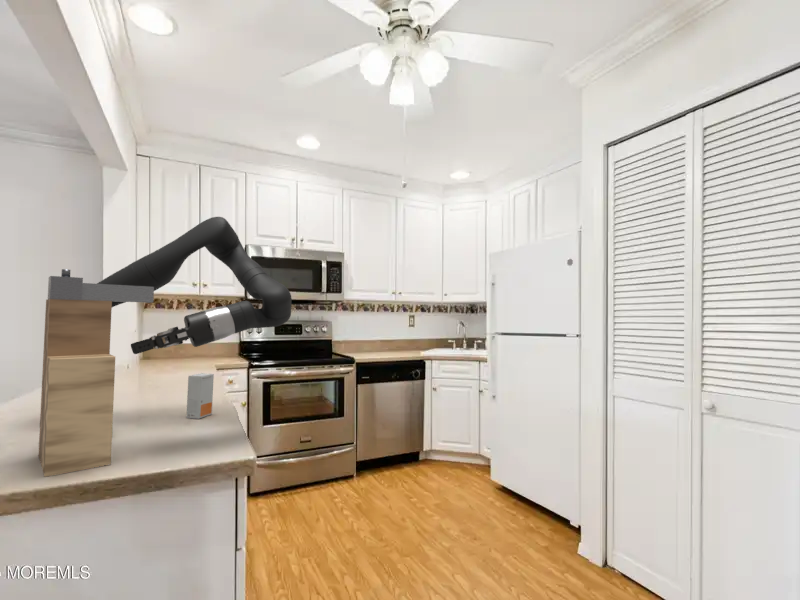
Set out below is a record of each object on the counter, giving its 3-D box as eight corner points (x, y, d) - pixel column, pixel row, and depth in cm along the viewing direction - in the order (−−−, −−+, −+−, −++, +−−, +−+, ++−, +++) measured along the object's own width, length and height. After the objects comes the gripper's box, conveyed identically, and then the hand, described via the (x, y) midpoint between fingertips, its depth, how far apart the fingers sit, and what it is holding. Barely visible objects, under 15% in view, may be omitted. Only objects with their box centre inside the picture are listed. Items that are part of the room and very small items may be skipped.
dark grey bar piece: (47, 299, 87) (49, 269, 87) (148, 302, 99) (149, 276, 99) (49, 299, 83) (51, 267, 83) (154, 302, 95) (155, 275, 96)
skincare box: (199, 419, 121) (200, 376, 121) (185, 418, 121) (187, 375, 122) (212, 414, 127) (214, 373, 127) (200, 413, 127) (201, 372, 128)
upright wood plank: (38, 455, 88) (46, 299, 89) (97, 446, 95) (103, 301, 96) (44, 476, 77) (53, 298, 78) (110, 464, 84) (117, 300, 85)
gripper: (200, 311, 106) (125, 332, 98) (210, 308, 94) (125, 332, 86) (210, 340, 107) (136, 364, 98) (220, 341, 95) (138, 367, 86)
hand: (131, 349), depth 92 cm, fingers open, 8 cm apart
